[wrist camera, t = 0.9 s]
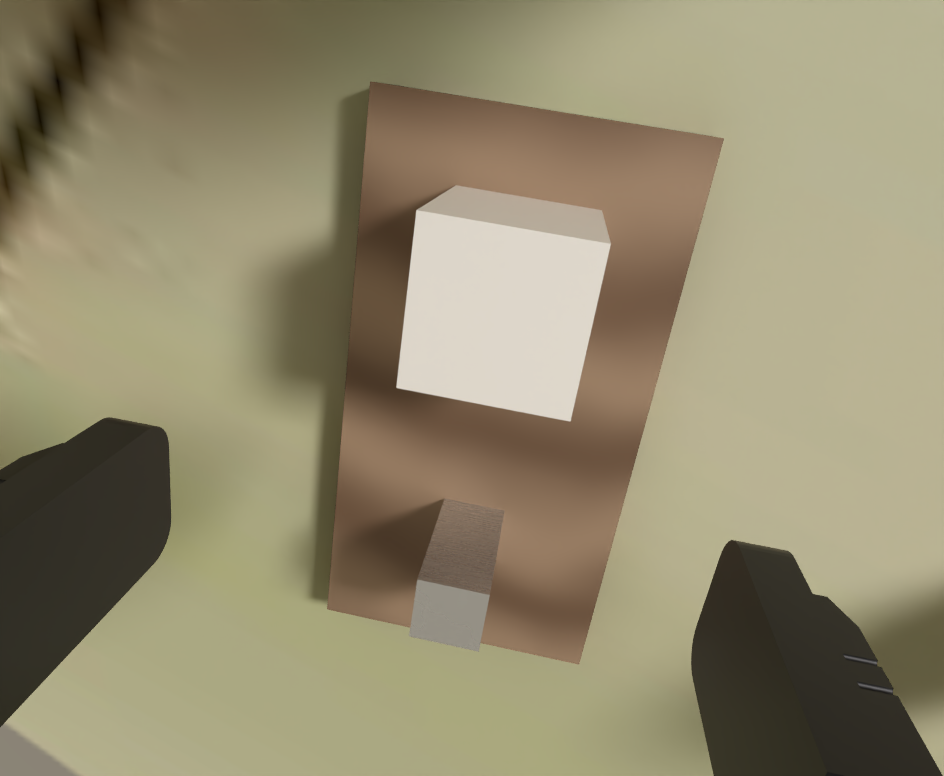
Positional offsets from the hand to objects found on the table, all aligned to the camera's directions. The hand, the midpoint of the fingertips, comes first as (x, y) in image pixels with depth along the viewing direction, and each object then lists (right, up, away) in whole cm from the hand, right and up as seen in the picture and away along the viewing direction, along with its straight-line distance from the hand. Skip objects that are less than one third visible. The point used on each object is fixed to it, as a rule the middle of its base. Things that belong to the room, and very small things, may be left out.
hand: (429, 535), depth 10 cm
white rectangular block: (+2, +6, +15) cm, 17 cm away
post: (+1, -4, +20) cm, 20 cm away
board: (+2, +2, +19) cm, 19 cm away
